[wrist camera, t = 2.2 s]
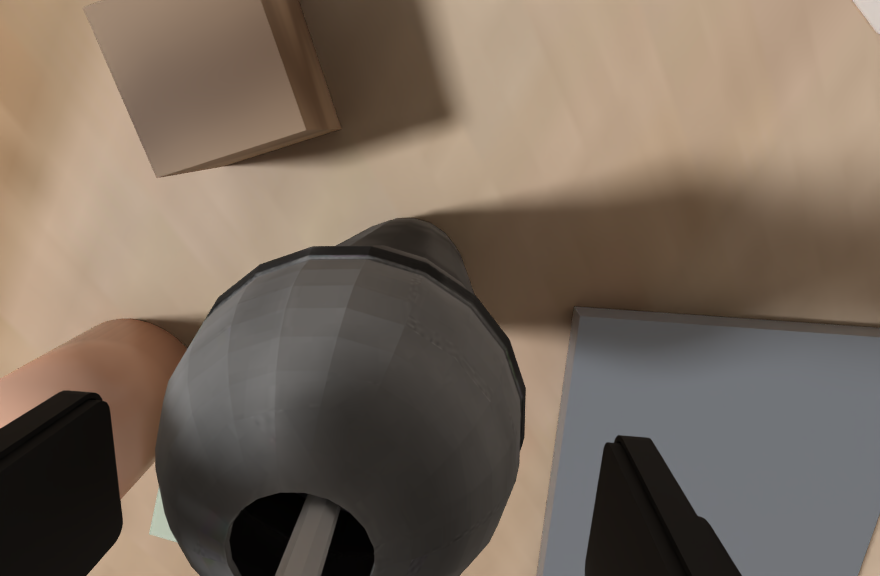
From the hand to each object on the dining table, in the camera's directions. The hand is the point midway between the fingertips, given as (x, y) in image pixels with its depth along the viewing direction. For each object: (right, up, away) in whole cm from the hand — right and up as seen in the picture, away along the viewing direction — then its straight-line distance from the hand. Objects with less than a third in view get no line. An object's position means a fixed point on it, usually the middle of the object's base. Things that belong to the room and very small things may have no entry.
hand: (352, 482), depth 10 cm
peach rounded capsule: (-12, -1, +14) cm, 19 cm away
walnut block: (-5, +11, +11) cm, 16 cm away
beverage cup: (0, +4, +12) cm, 13 cm away
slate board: (+14, -5, +15) cm, 21 cm away
